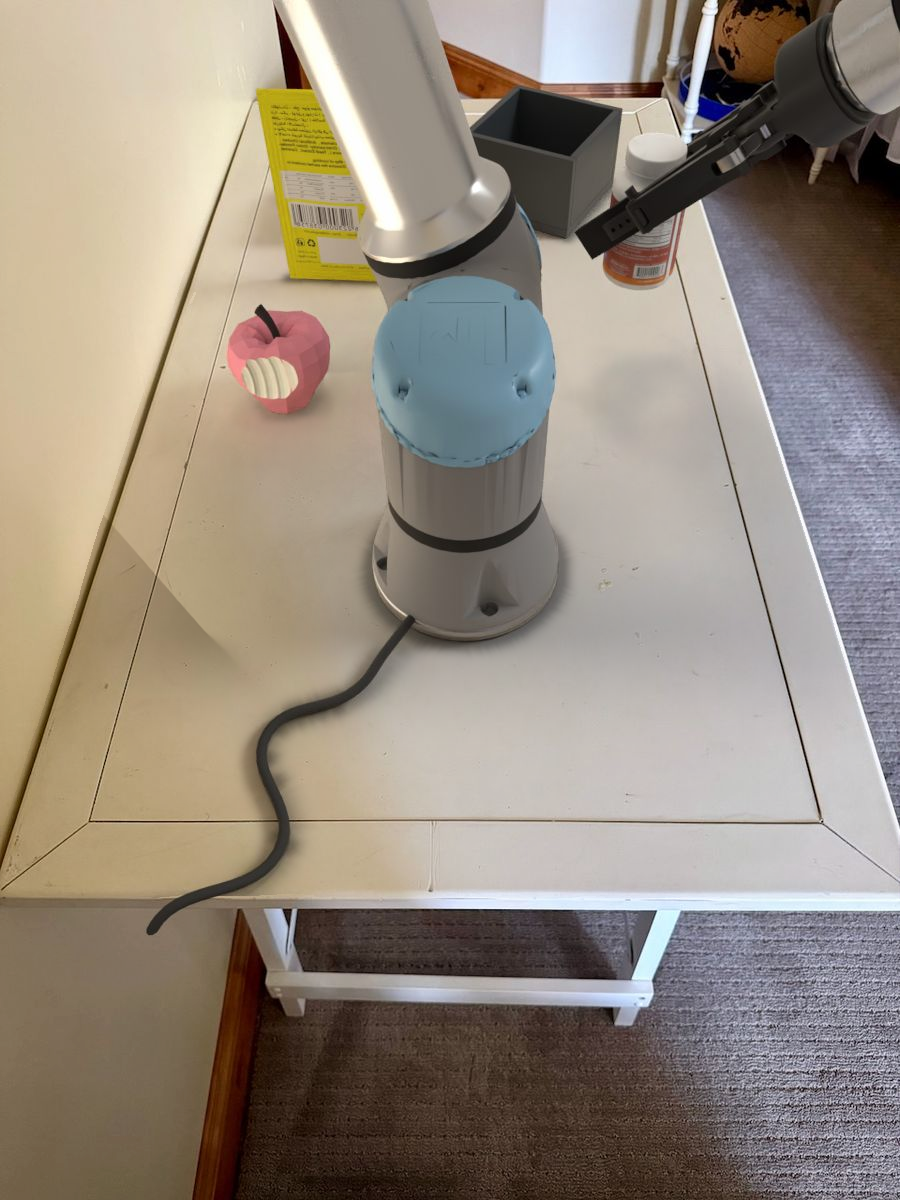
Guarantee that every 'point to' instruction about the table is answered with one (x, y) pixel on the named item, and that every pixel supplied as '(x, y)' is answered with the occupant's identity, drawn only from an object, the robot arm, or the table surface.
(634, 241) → the pill bottle
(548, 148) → the trash bin
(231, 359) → the apple
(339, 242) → the food package
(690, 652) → the table surface
